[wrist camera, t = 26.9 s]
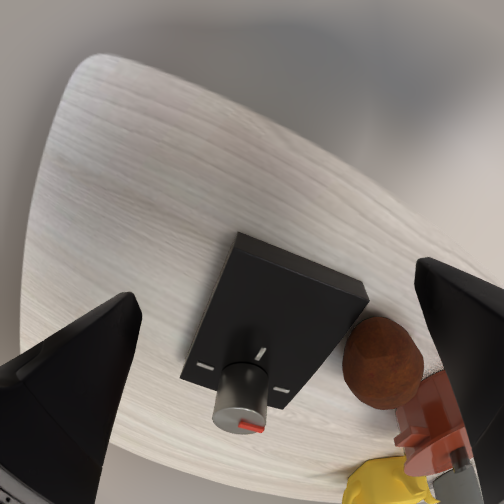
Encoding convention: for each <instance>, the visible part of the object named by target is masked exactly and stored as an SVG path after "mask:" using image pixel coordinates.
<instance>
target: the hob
mask: <svg viewBox="0 0 504 504" xmlns="http://www.w3.org/2000/svg"><path fill="white" fill-rule="evenodd" d="M369 301H370V300H369V298H368V295H367V293H366V290H365V288H364V285H363V283H362V282H361V281H359V280H356V279H354V278H351V277H349V276H347V275H344V274H342V273H339V272H337V271H334V270H332V269H330V268H327V267H325V266H322V265H320V264H317V263H315V262H313V261H310V260H308V259H305V258H303V257H300V256H298V255H295V254H293V253H290V252H288V251H285V250H283V249H280V248H278V247H276V246H273V245H271V244H268V243H266V242H263V241H261V240H258V239H256V238H253V237H251V236H248V235H246V234H243V233H241V232H237V235H236V237H235V239H234V242H233V244H232V247H231V249H230V251H229V254H228V256H227V259H226V261H225V263H224V266H223V268H222V271H221V273H220V275H219V278H218V280H217V283H216V285H215V288H214V290H213V292H212V295H211V297H210V300H209V302H208V305H207V307H206V310H205V312H204V314H203V317H202V319H201V322H200V324H199V327H198V329H197V332H196V334H195V337H194V339H193V342H192V344H191V347H190V349H189V352H188V354H187V357H186V359H185V362H184V366H183V369H182V372H181V375H180V379H183V380H186V381H189V382H191V383H194V384H197V385H200V386H203V387H206V388H209V389H212V390H215V391H217V390H218V385H219V380H220V375H221V372H222V371H223V370H224V369H225V368H226V367H227V366H229V365H232V364H237V363H246V364H252V365H255V366H257V367H259V368H261V369H262V370H263V371H264V372H265V373H266V374H267V376H268V398H267V406H270V407H274V408H278V409H282V410H283V409H284V408H285V407H286V406H287V404H288V403H289V402H290V401H291V400H292V399H293V398H294V397H295V395H296V394H297V393H298V392H299V391H300V390H301V389H302V387H303V386H304V385H305V384H306V383H307V382H308V380H309V379H310V378H311V377H312V376H313V374H314V373H315V372H316V371H317V370H318V368H319V367H320V366H321V365H322V363H323V362H324V361H325V360H326V359H327V357H328V356H329V355H330V354H331V352H332V351H333V350H334V348H335V347H336V346H337V345H338V343H339V342H340V341H341V339H342V338H343V337H344V335H345V334H346V333H347V331H348V330H349V329H350V327H351V326H352V325H353V323H354V322H355V321H356V319H357V318H358V317H359V315H360V314H361V312H362V311H363V310H364V308H365V307H366V305H367V304H368V303H369Z"/></svg>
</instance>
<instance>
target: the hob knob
mask: <svg viewBox="0 0 504 504" xmlns="http://www.w3.org/2000/svg"><path fill="white" fill-rule="evenodd" d="M267 398H268V376H267V374H266V373H265V372H264V371H263V370H262V369H261V368H259V367H257V366H255V365H252V364H246V363H237V364H232V365H229V366H227V367H226V368H225V369H224V370H223V371H222V372H221V375H220V380H219V385H218V390H217V396H216V401H215V406H214V411H213V416H212V420H213V422H214V424H215V425H216V426H217V427H219V428H220V429H222V430H224V431H226V432H229V433H234V434H253V433H256V432H259V433H262V432H263V431H264V428H265V425H266V416H267Z"/></svg>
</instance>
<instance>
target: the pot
mask: <svg viewBox="0 0 504 504" xmlns="http://www.w3.org/2000/svg"><path fill="white" fill-rule="evenodd" d="M395 415H396V421H397V425H398V429H399V433H400V434H399V435H398V436H396V437H395V438H394V442H395V446H396V447H403V450H404V455H405V459H406V460H407V459H408V458H409V457H410V456H411V455H412V454H413V453H414V452H415V451H416V450H418V449H419V448H420V447H422V446H423V445H425V444H426V443H428V442H429V441H431V440H432V439H434V438H436V437H437V436H439V435H441V434H443V433H444V432H446V431H448V430H450V429H452V428H454V427H456V426H458V425H460V424H462V423H464V422H463V419H462V416H461V413H460V410H459V407H458V404H457V401H456V398H455V395H454V393H453V390H452V387H451V384H450V382H449V379H448V376H447V374H446V371H445V370H442V371H440V372H438V373H435V374H433V375H431V376H430V377H428V378H426V379H424V380H423V381H421V382H420V385H419V388H418V390H417V393H416V395H415V396H414V397H413V398H412V399H411V400H410V401H409V402H407V403H406V404H405V405H402V406H400V407H398V408H396V411H395Z"/></svg>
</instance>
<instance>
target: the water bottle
mask: <svg viewBox="0 0 504 504" xmlns="http://www.w3.org/2000/svg"><path fill="white" fill-rule="evenodd" d="M433 487H434V491H435V496H436V500H439V501H440V502H439V503H437V504H483V500H482V496H481V492H480V488H479V485H478V481H477V478H476V474H475V471H474V467H473V466H472V465H471V466H470V467H469V468H468V469H466V470H464V471H462V472H460V473H457V474H455V473H454V471H453V470H451V471H449V472H447V473H445V474H444V475H442V476H440V477H439V478H438V479H437V480H436V481H435V482H434V484H433Z"/></svg>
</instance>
